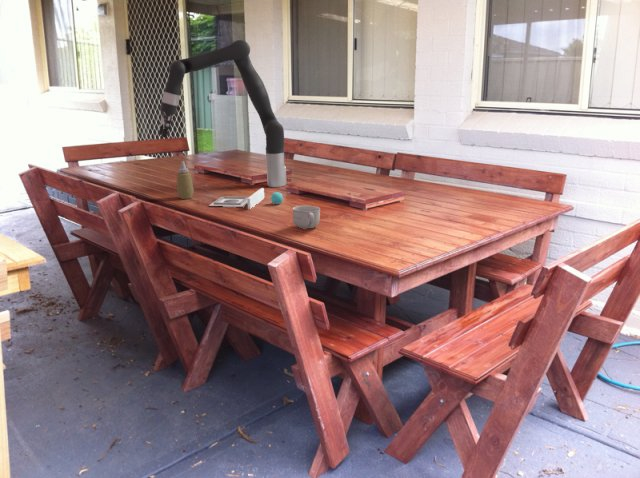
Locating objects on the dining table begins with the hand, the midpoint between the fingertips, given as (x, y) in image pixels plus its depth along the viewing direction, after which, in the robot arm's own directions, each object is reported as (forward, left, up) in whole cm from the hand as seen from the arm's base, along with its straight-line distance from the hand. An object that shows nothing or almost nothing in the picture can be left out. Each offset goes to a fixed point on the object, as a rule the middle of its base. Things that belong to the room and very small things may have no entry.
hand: (162, 136), depth 291 cm
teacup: (+4, +98, -29) cm, 102 cm away
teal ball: (-18, +59, -26) cm, 67 cm away
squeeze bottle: (-1, +14, -29) cm, 32 cm away
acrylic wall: (-13, +51, -29) cm, 60 cm away
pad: (-7, +40, -29) cm, 50 cm away
